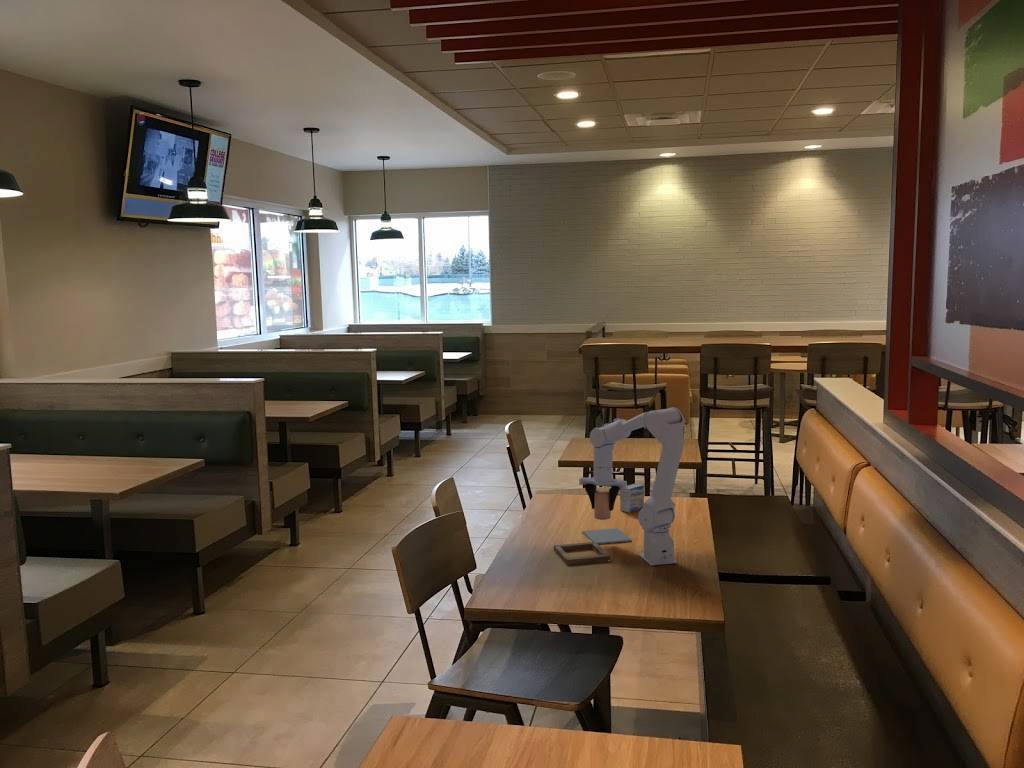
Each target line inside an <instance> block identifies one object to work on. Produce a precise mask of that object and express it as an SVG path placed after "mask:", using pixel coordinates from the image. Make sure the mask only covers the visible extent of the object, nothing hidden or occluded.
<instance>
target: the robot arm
mask: <svg viewBox="0 0 1024 768" xmlns="http://www.w3.org/2000/svg"><path fill="white" fill-rule="evenodd" d="M685 423H686V420H685V418H684V416H683V414H682V412H681V410H680V409H679V408H677V407H669V408H663V409H658V410H657V409H656V410H654V409H653V410H649V411H647V412H642V413H640V414H638V415H636V416H634V417H631V418H630V419H628V420H627V419H623V418H620V417H619V418H614V419H613V422H611V423H605V424H603V426H602V427H594V428H592V430H591V431H590V433H589V440H590V443H591V445H592V446H593V477H580V478H578V480H579V481H578V483H579V485H581V486H583V485H585V487H584V489H585V491H586V493H587V495H588V499H589V500H590V506H591V509H592V510H594V492H595V491H596V490H597V486H599V487H610V488H609V489H608V491H609V494H610V511H611V512H612V511H613V510H614V508H615V507H614V506H615V503H616V500H617V497H618V494H619V493H620V488H623V489H625V488H626V487H627V485H628V482H627V480H621V479H616V478H613V451H614V449H615V445H616V442H620V441H621V440H624V439H626V438H628V437H629V436H631V434H632V431H635V430H638V429H641V428H644V429H647V430H648V431H649V433H650V434H651V435H652V436H653V437H654V438H655V439H656V441H657V442H658V443H660V444H661V445H662V449H661V453H660V457H659V461H658V465H657V469H656V474H655V478H654V483H653V485H652V486H653V487H652V490H651V495H650V496H649V497H648V498H647V499H646V500H645V501H644V505H643V508H642V510H639V512H638V515H637V517H638V518H637V519H638V523H639V525H640V526H641V528H642V529H641V530H643V552H639V553H638V554H637V555H638V556H639V557H641V559H642V560H644V561H645V562H646V563H647V564H649V565H650V566H658V565H659V566H660V565H669V564H677V560H676V559H674V555H675V554H674V551H675V549H674V547H675V543H674V539H673V538H672V537H671V534H670V528H672V524H673V523H674V522H675V519H676V511H675V507H676V503H675V502H674V501H673V500H672V499H671V498H672V495H673V491H674V486H675V483H676V478H677V475H678V470H679V465H680V463H681V458H682V455H683V450H684V447H685V439H684V438H685V437H684V427H685Z"/></svg>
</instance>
